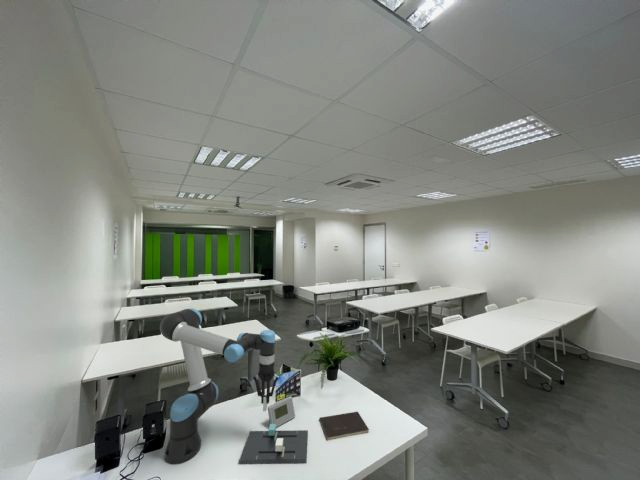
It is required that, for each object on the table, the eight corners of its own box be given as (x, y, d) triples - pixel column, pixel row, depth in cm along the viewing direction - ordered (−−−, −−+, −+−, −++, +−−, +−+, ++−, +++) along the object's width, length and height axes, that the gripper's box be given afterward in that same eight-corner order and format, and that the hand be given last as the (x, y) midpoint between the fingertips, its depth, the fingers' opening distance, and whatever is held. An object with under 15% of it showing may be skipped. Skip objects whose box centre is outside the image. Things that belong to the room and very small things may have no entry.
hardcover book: (369, 434, 131) (369, 429, 131) (326, 441, 125) (326, 437, 126) (357, 414, 146) (357, 410, 147) (319, 421, 141) (319, 416, 141)
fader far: (268, 438, 124) (268, 430, 124) (270, 432, 128) (270, 423, 128) (274, 438, 124) (274, 429, 124) (275, 432, 128) (275, 423, 128)
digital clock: (270, 431, 132) (270, 410, 133) (264, 421, 140) (265, 402, 140) (298, 420, 140) (298, 401, 141) (291, 412, 148) (291, 393, 149)
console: (239, 464, 111) (239, 459, 112) (250, 435, 129) (250, 430, 130) (306, 463, 112) (306, 458, 112) (307, 434, 130) (307, 430, 130)
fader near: (275, 455, 114) (275, 445, 114) (276, 447, 118) (276, 438, 118) (281, 454, 114) (282, 445, 114) (283, 447, 118) (283, 438, 118)
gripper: (252, 365, 124) (250, 414, 123) (278, 365, 124) (276, 414, 123) (255, 358, 131) (253, 404, 130) (280, 359, 131) (278, 405, 130)
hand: (265, 409), depth 126 cm, fingers closed
